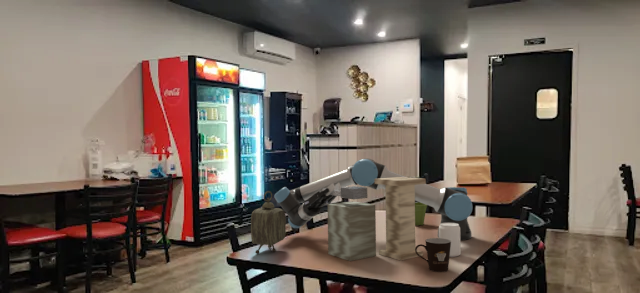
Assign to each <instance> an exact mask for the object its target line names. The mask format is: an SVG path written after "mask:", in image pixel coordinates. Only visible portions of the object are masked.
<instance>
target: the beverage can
mask: <svg viewBox="0 0 640 293" xmlns="http://www.w3.org/2000/svg"><path fill="white" fill-rule="evenodd" d="M440 223H441V222H440ZM440 223H439V226H438V229H439V237H438V238H443V239H448V240H451V247H450V256H449V258H455V257H458V256H460V255H461V254H462V253H461V251H462V250H461V244H462V243H461V240H460V227H459V224H456V223H441V224H440Z"/></svg>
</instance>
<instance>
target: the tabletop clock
mask: <svg viewBox="0 0 640 293" xmlns="http://www.w3.org/2000/svg"><path fill="white" fill-rule="evenodd" d="M267 194H270V197H266V195H267ZM272 198H273V193H272V191H271V190H267V191H265V192H264V195H263V201H265V202H264V203H263V204H262V206H261V207H259V208H256V209H254V210H253V211H252V212H251V216H250V217H251V218H250V236H251V243H252V245H259V246H258V248H257V249H256V250H255V252H254V253H255V254H256V255H258V254H259V253H260V249H261V248H262V247H263V246H267V247H268V249H271V251H272V252H273V253H275V252H277V249H276V248H275V246H274V245H276V244H278V243H280V242H281V241H283V240H284V239H285V238H286V235H287V234H286V230H287V226H286V224H287V222H286V221H287V220H286V212H285V211H284V209H283V208H279V207H275V204H274V203H273V202H271V200H272Z"/></svg>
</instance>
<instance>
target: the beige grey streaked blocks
mask: <svg viewBox="0 0 640 293" xmlns="http://www.w3.org/2000/svg"><path fill="white" fill-rule="evenodd" d="M374 181H375V184H382V185H385V189H384V190H385V196H384V197H385V244H386V245H385V249H381V250H380V249H379V250H378V255H380V256H383V257H387V258H392V259H395V260H398V261H405V260H409V259H413V258H414V259H415V258H418V257H419V256H418V255H417V254H416V252H415V248H416V225H415V203H416V201H415V185H419V184H427V182H426V181H427V180H426V178H420V177H408V176H406V177H392V178H379V179H374ZM376 213H377V212H376V204H372V203H367V202H365V203H364V202H360V201H359V202H358V201H354V200H353V201H344V202H334V203H331V204H327V247H328V248H327V250H328V252H327V254H328V255H330V256H333V257H337V258H340V259H342V260H347V261H349V262H352V261H357V260H362V259H367V258H373V257H377V234H376V233H377V229H376V225H377V224H376V223H377V222H376ZM417 253H418V254H419V255H420V256H422V257H423V256H424V252H423V251H421V250H418V249H417ZM419 258H420V257H419Z"/></svg>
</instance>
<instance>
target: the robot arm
mask: <svg viewBox="0 0 640 293" xmlns="http://www.w3.org/2000/svg"><path fill="white" fill-rule="evenodd" d="M392 177H407V176H406V175H402V174H400V173H396V172H394V171H391V170H389V169H388V168H387V165H384V164H382V163H379V162H377V161H375V160H374V159H371V158H362V159H359V160H357V161H356V162H355V163H354V164H352V165H349V166H348V168H347V169H344V170H343V171H339V172H336V173H333V174H331V175H329V176H328V175H327V176H325V177H323V178H321V179H318V180H316V181H312V182H309V183H307V184H303V185H301V186H299V187H296V188H293V189H289V188H287V186H284V187H282V188H280V189H279V190H278V191H276V193H275V194H274V196H273V197H274V199H275V201H276V203H278V205H279V206H280V207H281V209H282V210H283V211H285V214H286V215H287V216H288V219H287V221H288V225H289V226H290V227H291V228H293V229H300V228H301V227H303V226H304V225H305V224H306V223H308V222H309V221H311V219H312V218H314V217H315V216H316V215H318V214H319V213H320V211H321V210H322V209H321V208H322V207H323V206H324V205H325V204H327V205H328V204H332V202H333V201H335V199H336V198H337V197H338V196H334V195H329V194H330V193H332V192H333V191H334V190H341V187H350V186H351V185H353V186H357V185H358V186H360V187H366V188H371V189H374V190H376V191H379V190H380V189H383V190H385V185H382V184H375V181H374V179H379V178H392ZM322 189H325V190H324V191H322ZM415 202H417V203H423V204H426V205H427V206H429V207H432V208H433V209H434V212H436V213H438V214H440V216H441V217H440V219H441V221H440V223H439V225H440V224H441V223H456V224H459V227H460V241H465V240H470V239H472V237H473V236H472V235H473V234H472V230H471V227H470V224H469V221H468V218H469V217H470V216H471V214H472V212H473V202H472V199H471V198H470V197H469V196H468V189H467V188H466V187H462V186H461V187H458V186H457V187H456V186H454V187H452V186H451V187H450V186H448V187H445V186H444V187H442V188H438V187H436V186H433V185H430V184H427V183H426V184H419V185H415ZM301 203H302V204H301ZM437 238H439V228H438V229H437Z"/></svg>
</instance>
